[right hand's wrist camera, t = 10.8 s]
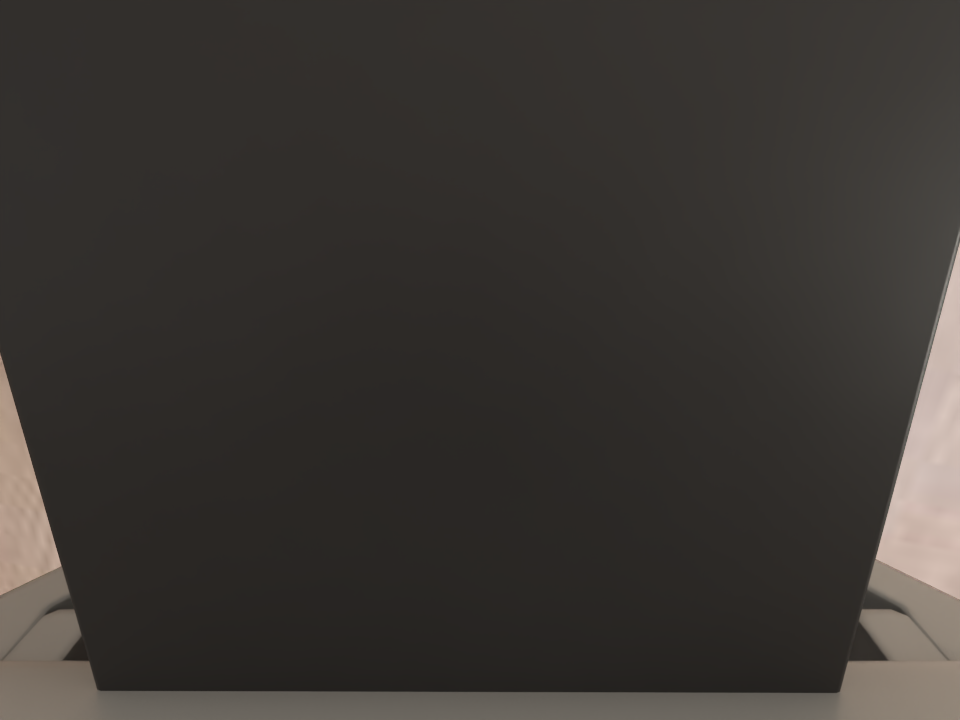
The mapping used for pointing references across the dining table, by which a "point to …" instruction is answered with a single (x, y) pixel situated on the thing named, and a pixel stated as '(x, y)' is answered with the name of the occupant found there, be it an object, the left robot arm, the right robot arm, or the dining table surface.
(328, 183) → the box
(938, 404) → the dining table surface
